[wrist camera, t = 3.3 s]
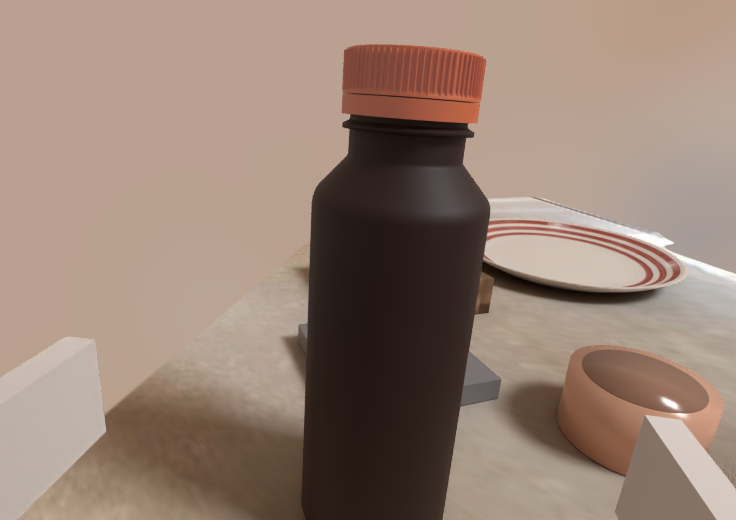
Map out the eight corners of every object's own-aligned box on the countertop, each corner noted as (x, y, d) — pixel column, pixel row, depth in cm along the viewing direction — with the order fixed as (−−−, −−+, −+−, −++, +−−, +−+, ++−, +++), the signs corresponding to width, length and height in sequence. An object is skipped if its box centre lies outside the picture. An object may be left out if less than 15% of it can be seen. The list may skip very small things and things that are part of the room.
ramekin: (618, 388, 34) (632, 338, 33) (734, 465, 27) (758, 405, 26) (530, 407, 31) (541, 353, 30) (636, 500, 24) (657, 434, 23)
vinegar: (296, 460, 25) (307, 52, 19) (417, 448, 27) (466, 67, 20) (308, 582, 19) (331, 30, 12) (465, 557, 20) (558, 56, 14)
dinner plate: (668, 338, 43) (678, 305, 42) (414, 264, 58) (416, 238, 57) (687, 269, 65) (694, 246, 64) (497, 228, 80) (500, 208, 78)
